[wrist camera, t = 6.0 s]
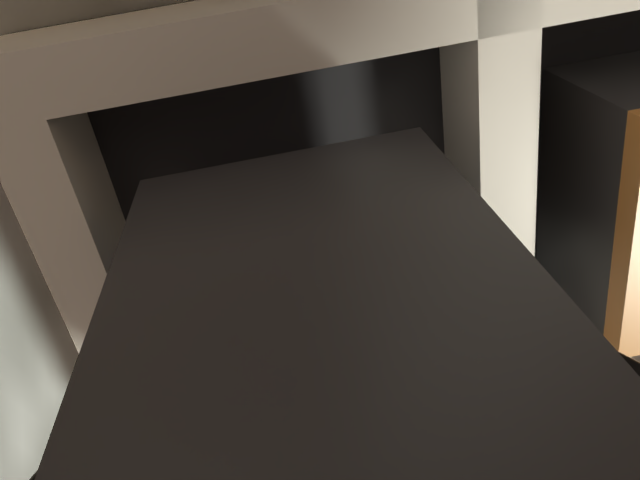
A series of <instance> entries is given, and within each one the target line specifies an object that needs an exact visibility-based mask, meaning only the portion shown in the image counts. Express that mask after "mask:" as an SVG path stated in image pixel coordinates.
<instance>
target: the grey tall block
mask: <svg viewBox="0 0 640 480" xmlns="http://www.w3.org/2000/svg"><path fill="white" fill-rule="evenodd" d="M35 480H640V376H639V375H638V374H637V373H636V372H635V371H634V370H633V368H632V367H631V366H630V365H629V364H628V363H627V362H626V361H625V359H624V358H623V357H622V356H621V355H620V354H619V353H618V351H617V350H616V349H615V348H614V347H613V346H612V345H611V343H610V342H609V341H608V340H607V339H606V338H605V337H604V336H603V334H602V333H601V332H600V331H599V330H598V329H597V328H596V326H595V325H594V324H593V323H592V322H591V321H590V320H589V318H588V317H587V316H586V315H585V314H584V313H583V312H582V310H581V309H580V308H579V307H578V306H577V305H576V304H575V303H574V301H573V300H572V299H571V298H570V297H569V296H568V295H567V293H566V292H565V291H564V290H563V289H562V288H561V287H560V285H559V284H558V283H557V282H556V281H555V280H554V279H553V278H552V276H551V275H550V274H549V273H548V272H547V271H546V270H545V268H544V267H543V266H542V265H541V264H540V263H539V262H538V260H537V259H536V258H535V257H534V256H533V255H532V254H531V253H530V251H529V250H528V249H527V248H526V247H525V246H524V245H523V243H522V242H521V241H520V240H519V239H518V238H517V237H516V235H515V234H514V233H513V232H512V231H511V230H510V229H509V227H508V226H507V225H506V224H505V223H504V222H503V221H502V220H501V218H500V217H499V216H498V215H497V214H496V213H495V212H494V210H493V209H492V208H491V207H490V206H489V205H488V204H487V202H486V201H485V200H484V199H483V198H482V197H481V196H480V195H479V193H478V192H477V191H476V190H475V189H474V188H473V187H472V185H471V184H470V183H469V182H468V181H467V180H466V179H465V177H464V176H463V175H462V174H461V173H460V172H459V171H458V169H457V168H456V167H455V166H454V165H453V164H452V163H451V162H450V160H449V159H448V158H447V157H446V156H445V155H444V154H443V152H442V151H441V150H440V149H439V148H438V147H437V146H436V144H435V143H434V142H433V141H432V140H431V139H430V138H429V137H428V135H427V134H426V133H425V132H424V131H423V130H422V129H421V127H418V128H412V129H407V130H402V131H397V132H391V133H386V134H381V135H376V136H370V137H365V138H360V139H355V140H349V141H344V142H339V143H334V144H328V145H323V146H318V147H313V148H307V149H302V150H297V151H292V152H286V153H281V154H276V155H271V156H265V157H260V158H255V159H250V160H244V161H239V162H234V163H229V164H223V165H218V166H213V167H207V168H202V169H197V170H192V171H186V172H181V173H176V174H171V175H165V176H160V177H155V178H150V179H144V180H140V182H139V185H138V188H137V191H136V194H135V196H134V199H133V202H132V205H131V208H130V211H129V213H128V216H127V219H126V222H125V225H124V228H123V230H122V233H121V236H120V239H119V242H118V245H117V247H116V250H115V253H114V256H113V259H112V262H111V264H110V267H109V270H108V273H107V276H106V279H105V281H104V284H103V287H102V290H101V293H100V296H99V298H98V301H97V304H96V307H95V310H94V313H93V315H92V318H91V321H90V324H89V327H88V330H87V332H86V335H85V338H84V341H83V344H82V347H81V349H80V352H79V355H78V358H77V361H76V364H75V366H74V369H73V372H72V375H71V378H70V381H69V383H68V386H67V389H66V392H65V395H64V398H63V400H62V403H61V406H60V409H59V412H58V415H57V417H56V420H55V423H54V426H53V429H52V432H51V434H50V437H49V440H48V443H47V446H46V449H45V451H44V454H43V457H42V460H41V463H40V465H39V468H38V471H37V474H36V477H35Z"/></svg>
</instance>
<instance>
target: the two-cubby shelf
mask: <svg viewBox="0 0 640 480" xmlns="http://www.w3.org/2000/svg"><path fill="white" fill-rule="evenodd" d="M635 51H640V0H195V1H190V2H184V3H178V4H173V5H167V6H162V7H156V8H151V9H145V10H140V11H134V12H128V13H123V14H117V15H112V16H106V17H101V18H95V19H89V20H84V21H78V22H73V23H67V24H62V25H56V26H51V27H45V28H39V29H34V30H28V31H23V32H17V33H12V34H6V35H1V36H0V183H1V185H2V187H3V189H4V192H5V194H6V196H7V198H8V200H9V203H10V205H11V207H12V209H13V211H14V214H15V216H16V218H17V220H18V222H19V224H20V227H21V229H22V231H23V233H24V235H25V238H26V240H27V242H28V244H29V246H30V248H31V251H32V253H33V255H34V257H35V259H36V262H37V264H38V266H39V268H40V270H41V272H42V275H43V277H44V279H45V281H46V283H47V286H48V288H49V290H50V292H51V294H52V297H53V299H54V301H55V303H56V305H57V307H58V310H59V312H60V314H61V316H62V318H63V321H64V323H65V325H66V327H67V329H68V331H69V334H70V336H71V338H72V340H73V342H74V345H75V347H76V349H77V351H78V353H79V352H80V349H81V347H82V344H83V341H84V338H85V335H86V332H87V330H88V327H89V324H90V321H91V318H92V315H93V313H94V310H95V307H96V304H97V301H98V298H99V296H100V293H101V290H102V287H103V284H104V281H105V279H106V276H107V273H108V270H109V267H110V264H111V262H112V259H113V256H114V253H115V250H116V247H117V245H118V242H119V239H120V236H121V233H122V230H123V228H124V225H125V222H126V219H127V216H128V213H129V211H130V208H131V205H132V202H133V199H134V196H135V194H136V191H137V188H138V185H139V182H140V180H144V179H150V178H155V177H160V176H165V175H171V174H176V173H181V172H186V171H192V170H197V169H202V168H207V167H213V166H218V165H223V164H229V163H234V162H239V161H244V160H250V159H255V158H260V157H265V156H271V155H276V154H281V153H286V152H292V151H297V150H302V149H307V148H313V147H318V146H323V145H328V144H334V143H339V142H344V141H349V140H355V139H360V138H365V137H370V136H376V135H381V134H386V133H391V132H397V131H402V130H407V129H412V128H418V127H421V129H422V130H423V131H424V132H425V133H426V134H427V135H428V137H429V138H430V139H431V140H432V141H433V142H434V143H435V144H436V146H437V147H438V148H439V149H440V150H441V151H442V152H443V154H444V155H445V156H446V157H447V158H448V159H449V160H450V162H451V163H452V164H453V165H454V166H455V167H456V168H457V169H458V171H459V172H460V173H461V174H462V175H463V176H464V177H465V179H466V180H467V181H468V182H469V183H470V184H471V185H472V187H473V188H474V189H475V190H476V191H477V192H478V193H479V195H480V196H481V197H482V198H483V199H484V200H485V201H486V202H487V204H488V205H489V206H490V207H491V208H492V209H493V210H494V212H495V213H496V214H497V215H498V216H499V217H500V218H501V220H502V221H503V222H504V223H505V224H506V225H507V226H508V227H509V229H510V230H511V231H512V232H513V233H514V234H515V235H516V237H517V238H518V239H519V240H520V241H521V242H522V243H523V245H524V246H525V247H526V248H527V249H528V250H529V251H530V253H531V254H532V255H533V256H534V257H535V258H536V255H537V226H538V197H539V169H540V140H541V112H542V83H543V69H545V68H550V67H555V66H561V65H566V64H571V63H577V62H582V61H587V60H592V59H598V58H603V57H608V56H614V55H619V54H624V53H630V52H635ZM630 358H632V359H634V360H636V361H638V362H640V355H638V356H633V357H630Z"/></svg>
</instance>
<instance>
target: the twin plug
mask: <svg viewBox="0 0 640 480" xmlns="http://www.w3.org/2000/svg"><path fill="white" fill-rule="evenodd" d="M536 259H537V260H538V262H539V263H540V264H541V265H542V266H543V267H544V268H545V270H546V271H547V272H548V273H549V274H550V275H551V276H552V278H553V279H554V280H555V281H556V282H557V283H558V284H559V285H560V287H561V288H562V289H563V290H564V291H565V292H566V293H567V295H568V296H569V297H570V298H571V299H572V300H573V301H574V303H575V304H576V305H577V306H578V307H579V308H580V309H581V310H582V312H583V313H584V314H585V315H586V316H587V317H588V318H589V320H590V321H591V322H592V323H593V324H594V325H595V326H596V328H597V329H598V330H599V331H600V332H601V333H602V334H603V336H604V337H605V338H606V339H607V340H608V341H609V342H610V343H611V345H612V346H613V347H614V348H615V349H616V350H617V351H618V352H620V353H622V354H624V355H626V356H628V357H633V356H638V355H640V51H635V52H630V53H624V54H619V55H614V56H608V57H603V58H598V59H592V60H587V61H582V62H577V63H571V64H566V65H561V66H555V67H550V68H545V69H543V83H542V112H541V140H540V169H539V197H538V226H537V255H536Z"/></svg>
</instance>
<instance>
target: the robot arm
mask: <svg viewBox="0 0 640 480" xmlns="http://www.w3.org/2000/svg"><path fill="white" fill-rule="evenodd" d="M618 353H619V354H620V355H621V356H622V357H623V358H624V359H625V361H626V362H627V363H628V364H629V365H630V366H631V367H632V368H633V370H634V371H635V372H636V373H637V374H638V375H639V376H640V362H638V361H636V360H634V359H632V358H630V357H628V356H626V355H624V354H622V353H620V352H618ZM37 471H38V470H37ZM37 471H36V473H35V474H34V475H33V476H32V477H31V478H30V480H35V477H36V474H37Z"/></svg>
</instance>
